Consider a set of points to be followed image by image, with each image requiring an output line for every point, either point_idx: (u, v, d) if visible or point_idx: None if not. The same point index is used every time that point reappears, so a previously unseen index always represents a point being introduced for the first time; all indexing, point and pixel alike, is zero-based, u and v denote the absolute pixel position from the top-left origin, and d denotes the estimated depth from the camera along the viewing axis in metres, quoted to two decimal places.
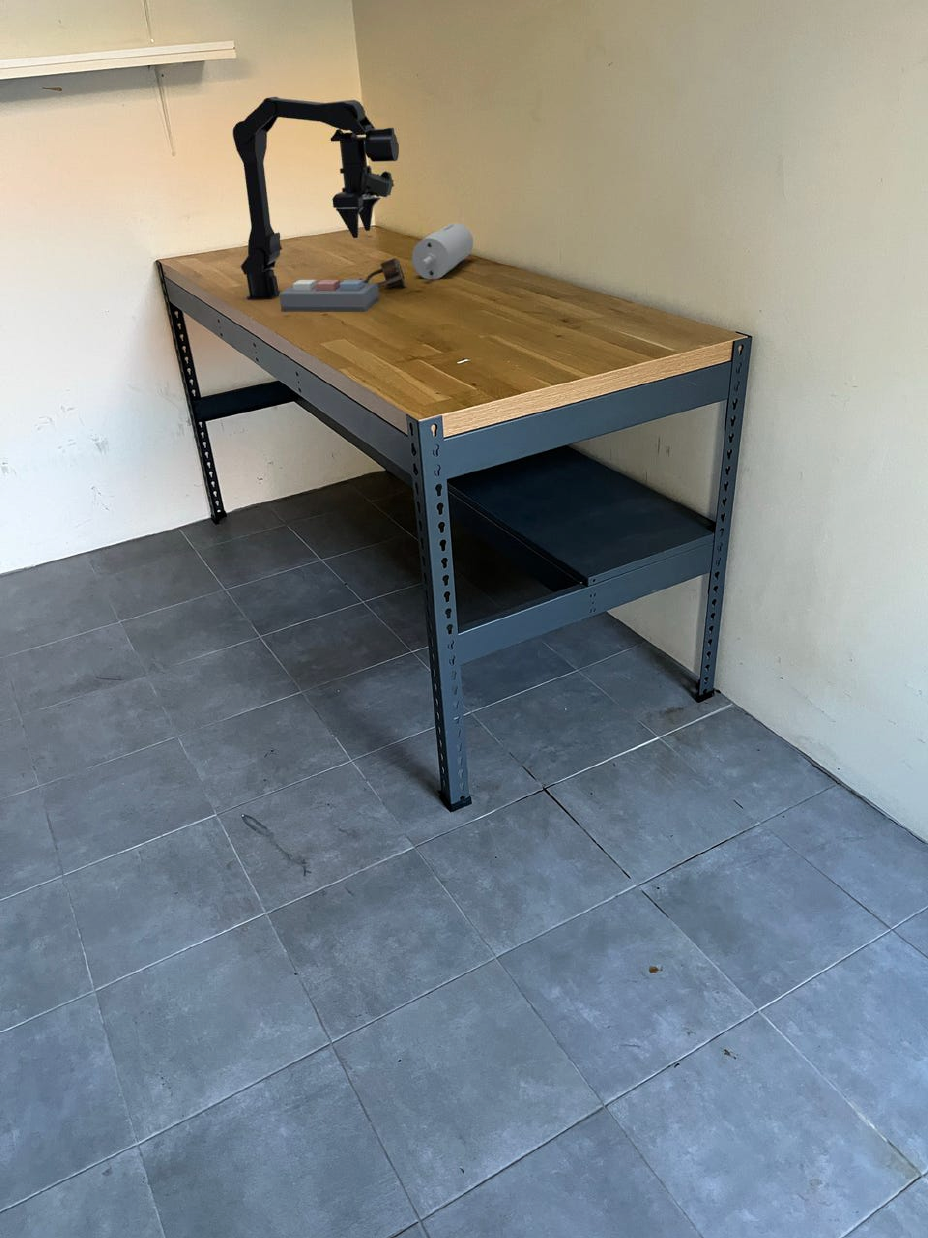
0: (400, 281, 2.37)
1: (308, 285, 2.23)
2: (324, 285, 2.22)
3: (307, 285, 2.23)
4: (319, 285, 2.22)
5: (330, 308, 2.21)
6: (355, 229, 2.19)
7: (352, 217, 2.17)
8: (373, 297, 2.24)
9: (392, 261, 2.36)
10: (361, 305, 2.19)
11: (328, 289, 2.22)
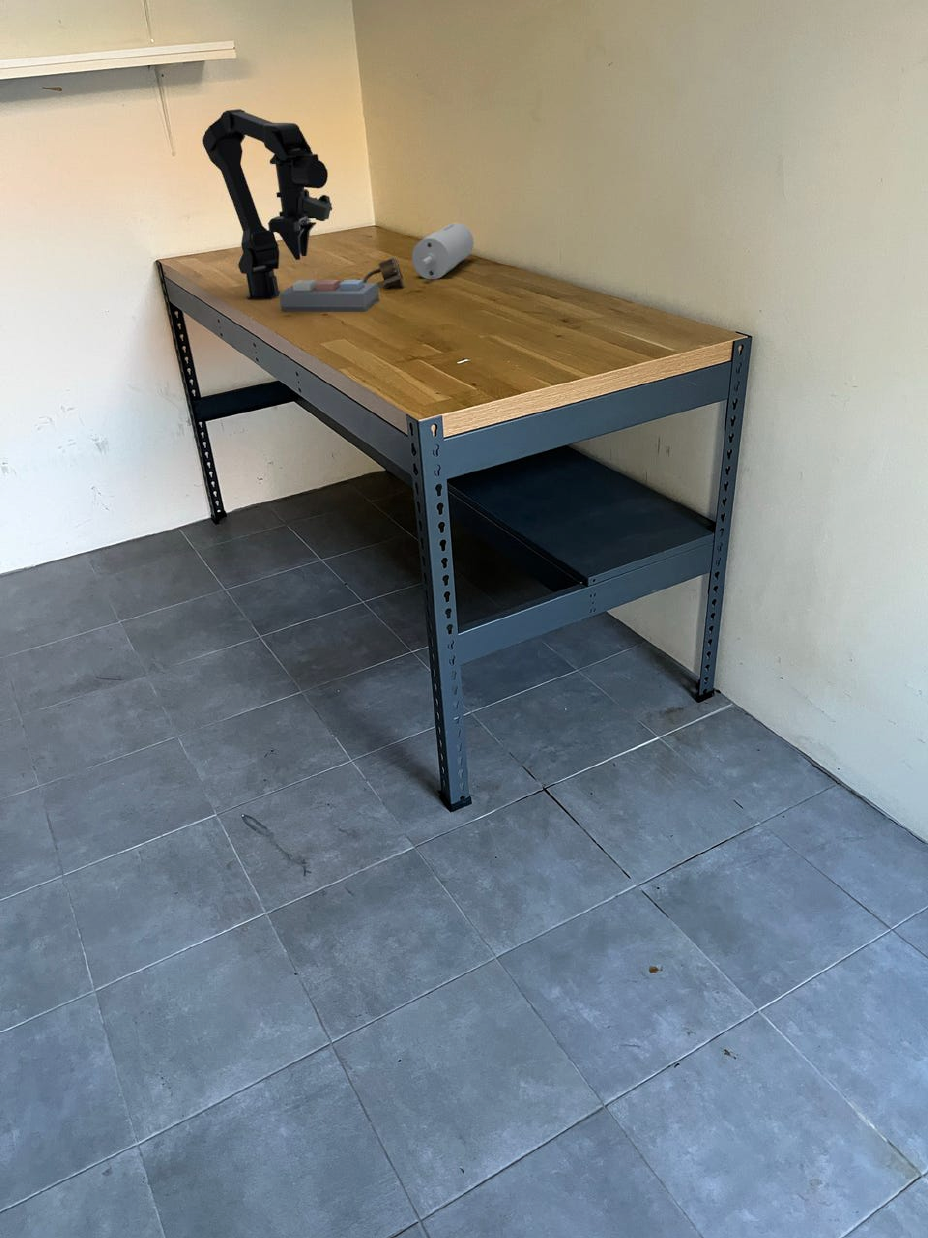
0: (398, 281, 2.37)
1: (308, 285, 2.23)
2: (324, 285, 2.22)
3: (307, 285, 2.23)
4: (319, 285, 2.22)
5: (330, 308, 2.21)
6: (297, 251, 2.18)
7: (293, 239, 2.17)
8: (373, 297, 2.24)
9: (390, 261, 2.36)
10: (361, 305, 2.19)
11: (328, 289, 2.22)
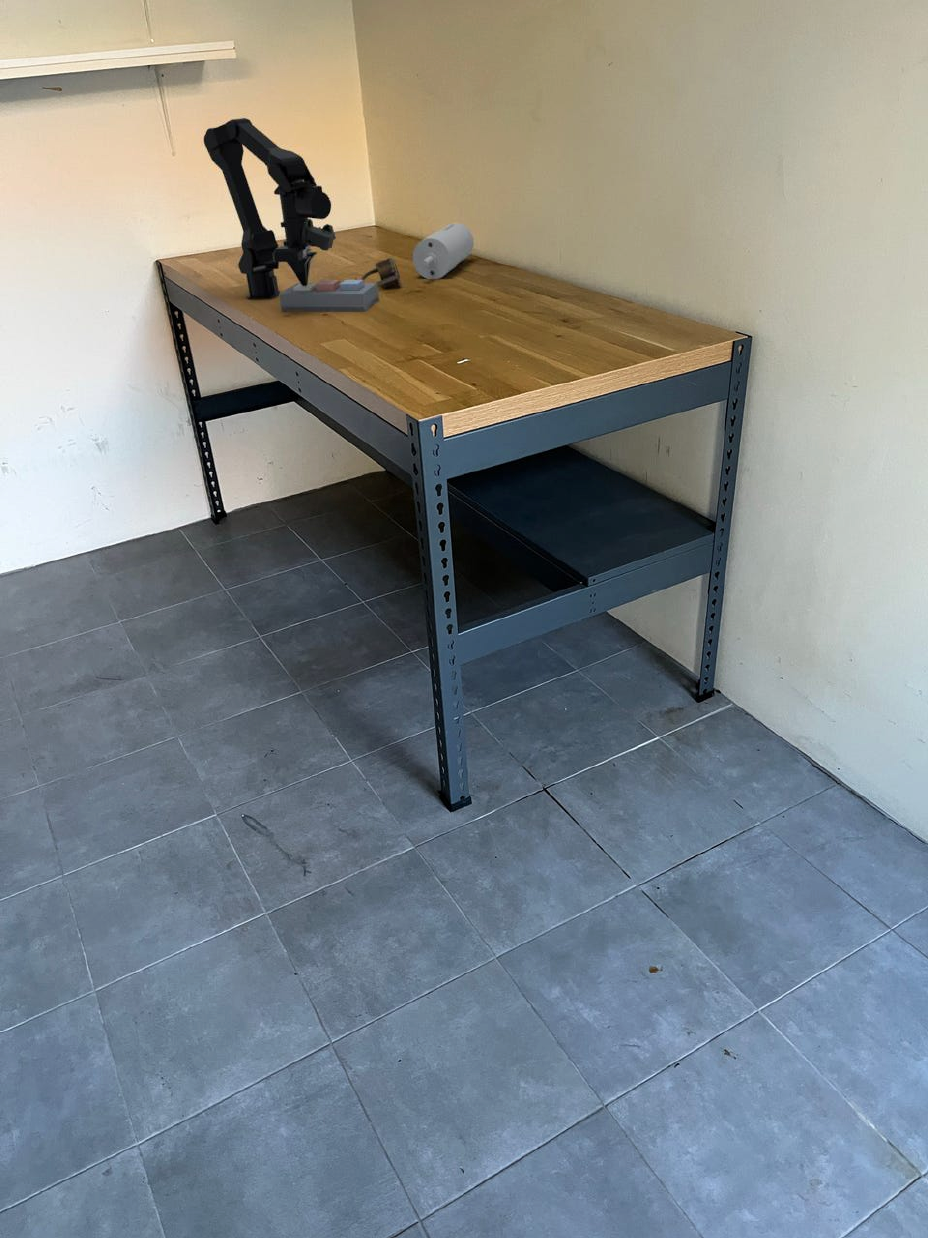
0: (396, 281, 2.38)
1: (309, 289, 2.23)
2: (324, 285, 2.22)
3: (308, 289, 2.23)
4: (319, 285, 2.22)
5: (330, 308, 2.21)
6: (303, 278, 2.23)
7: (300, 266, 2.22)
8: (373, 297, 2.24)
9: (387, 261, 2.36)
10: (361, 305, 2.19)
11: (328, 289, 2.22)
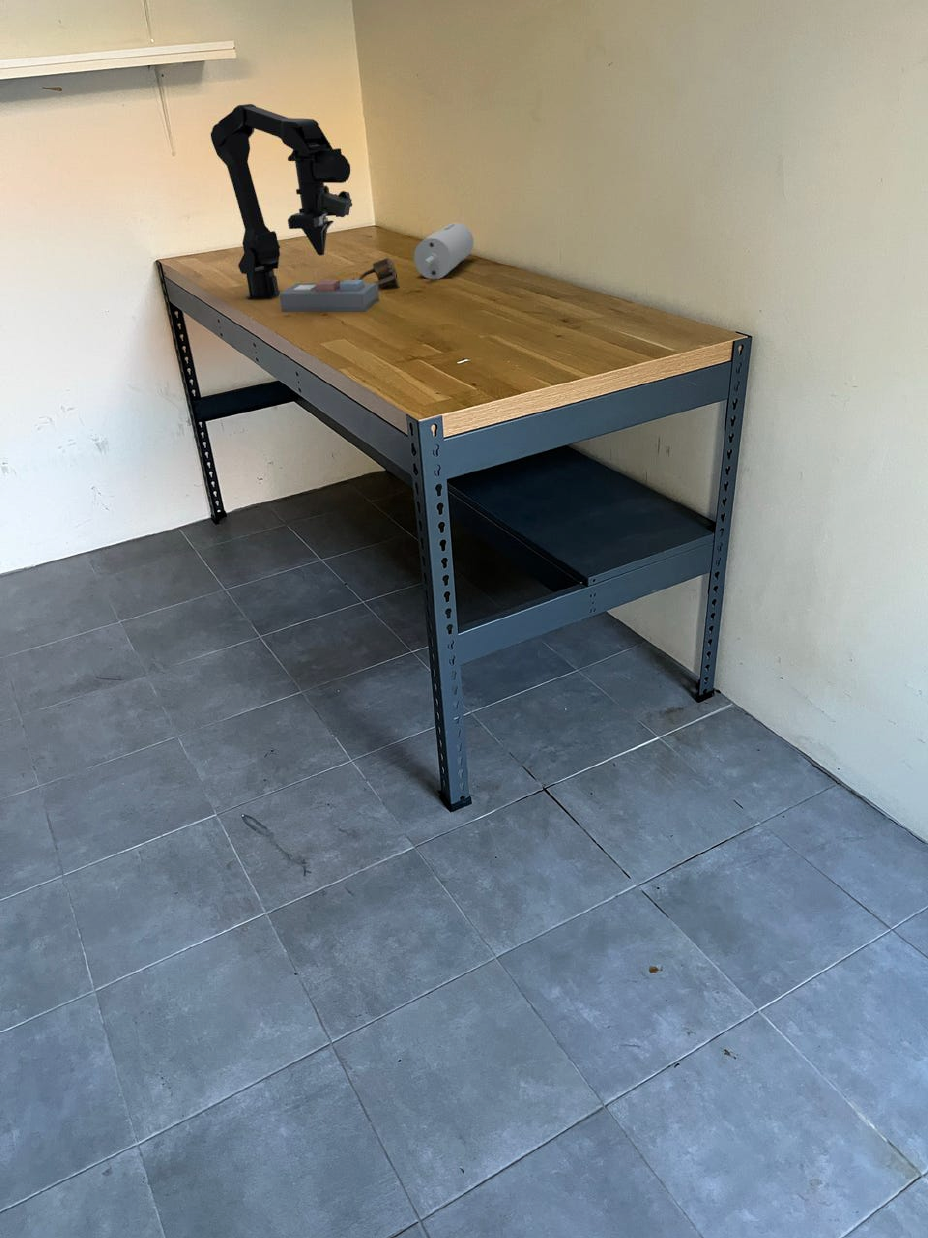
0: (393, 281, 2.38)
1: (309, 290, 2.23)
2: (324, 285, 2.22)
3: (308, 290, 2.23)
4: (319, 285, 2.22)
5: (330, 308, 2.21)
6: (320, 246, 2.18)
7: (316, 235, 2.16)
8: (373, 297, 2.24)
9: (385, 261, 2.36)
10: (361, 305, 2.19)
11: (328, 289, 2.22)
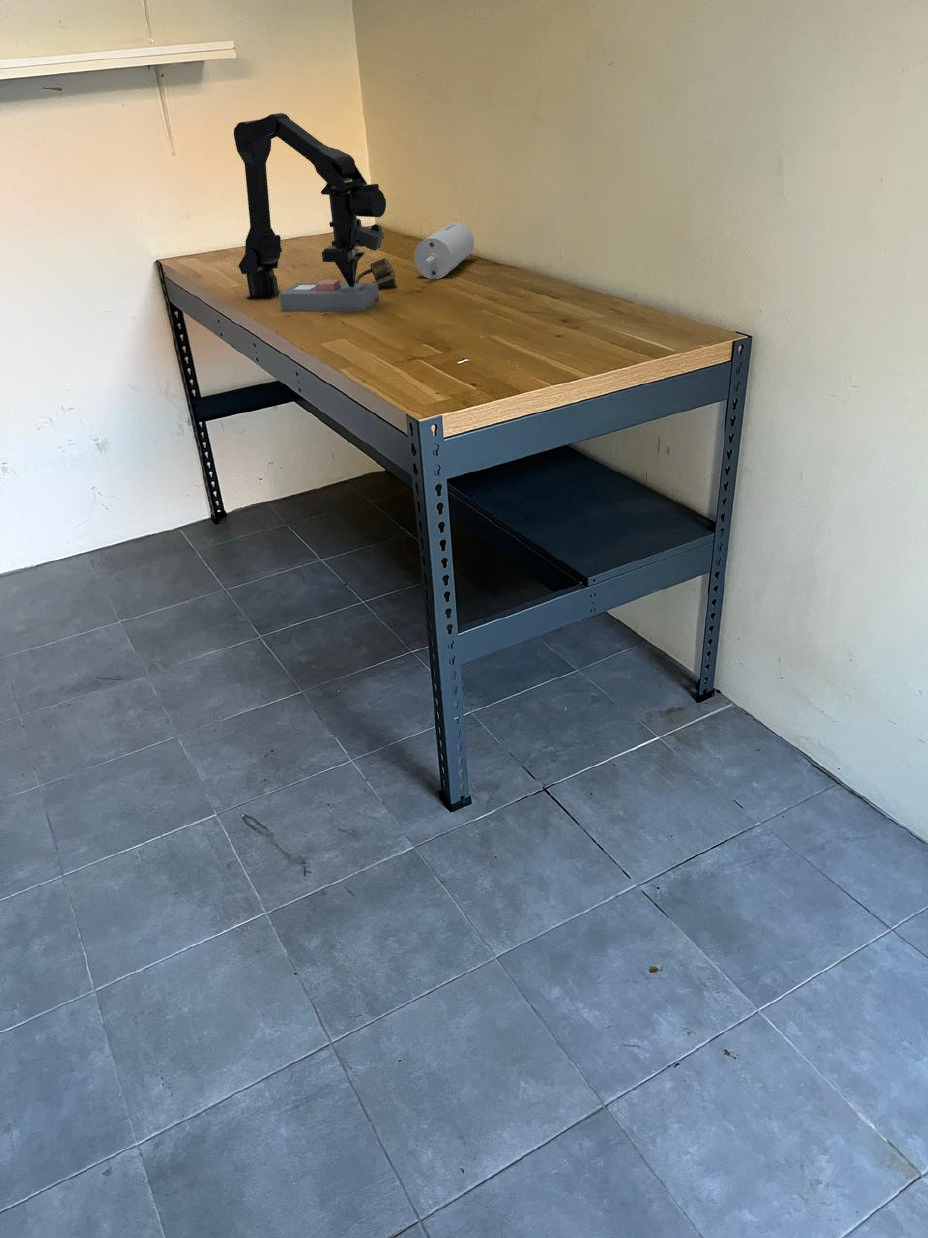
0: (391, 281, 2.38)
1: (309, 290, 2.23)
2: (324, 285, 2.22)
3: (308, 290, 2.23)
4: (319, 285, 2.22)
5: (330, 308, 2.21)
6: (351, 278, 2.21)
7: (348, 266, 2.19)
8: (373, 297, 2.24)
9: (382, 261, 2.36)
10: (361, 305, 2.19)
11: (328, 289, 2.22)
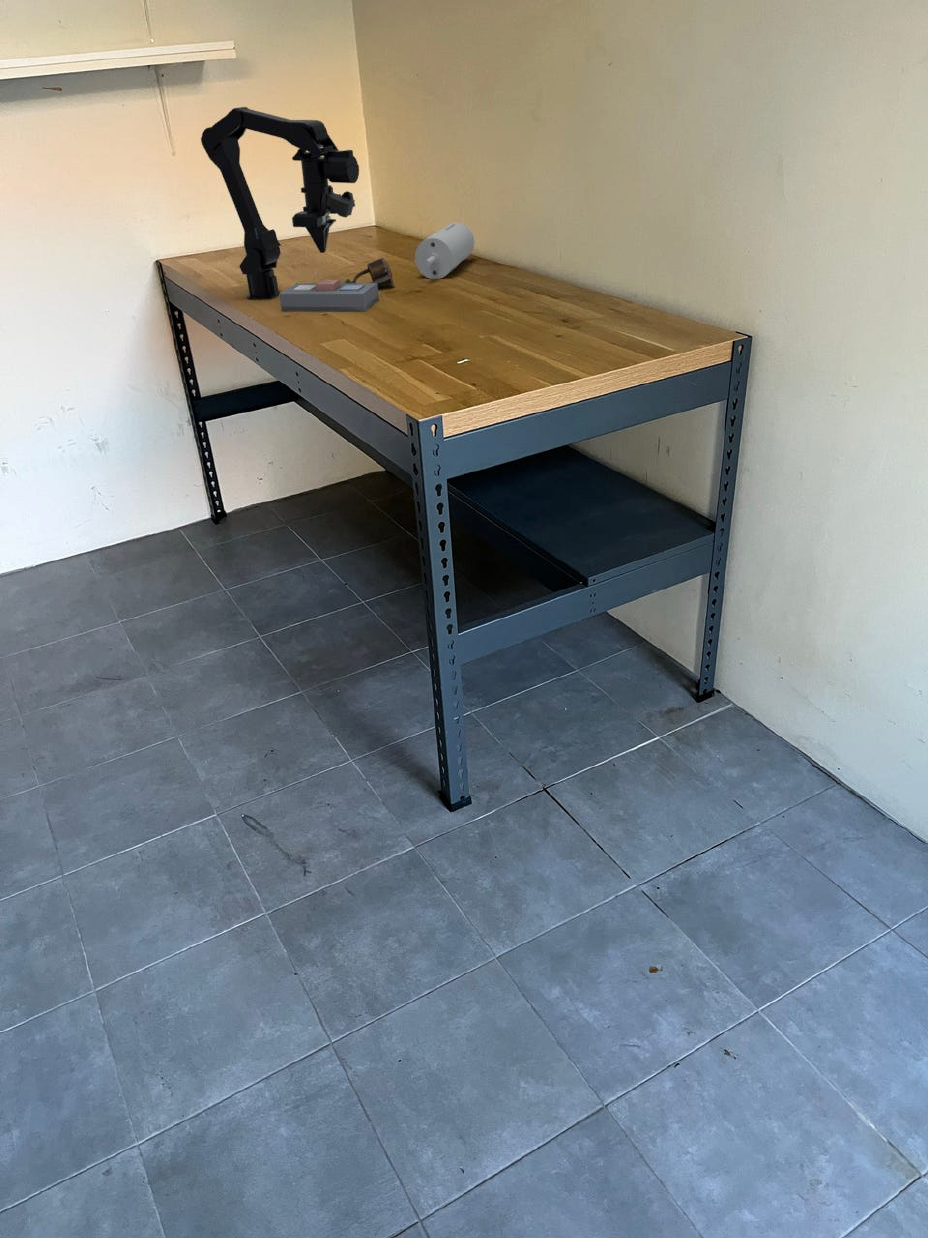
0: (388, 281, 2.38)
1: (309, 290, 2.23)
2: (324, 285, 2.22)
3: (308, 290, 2.23)
4: (319, 285, 2.22)
5: (330, 308, 2.21)
6: (322, 244, 2.24)
7: (319, 233, 2.22)
8: (373, 297, 2.24)
9: (380, 261, 2.36)
10: (361, 305, 2.19)
11: (328, 289, 2.22)
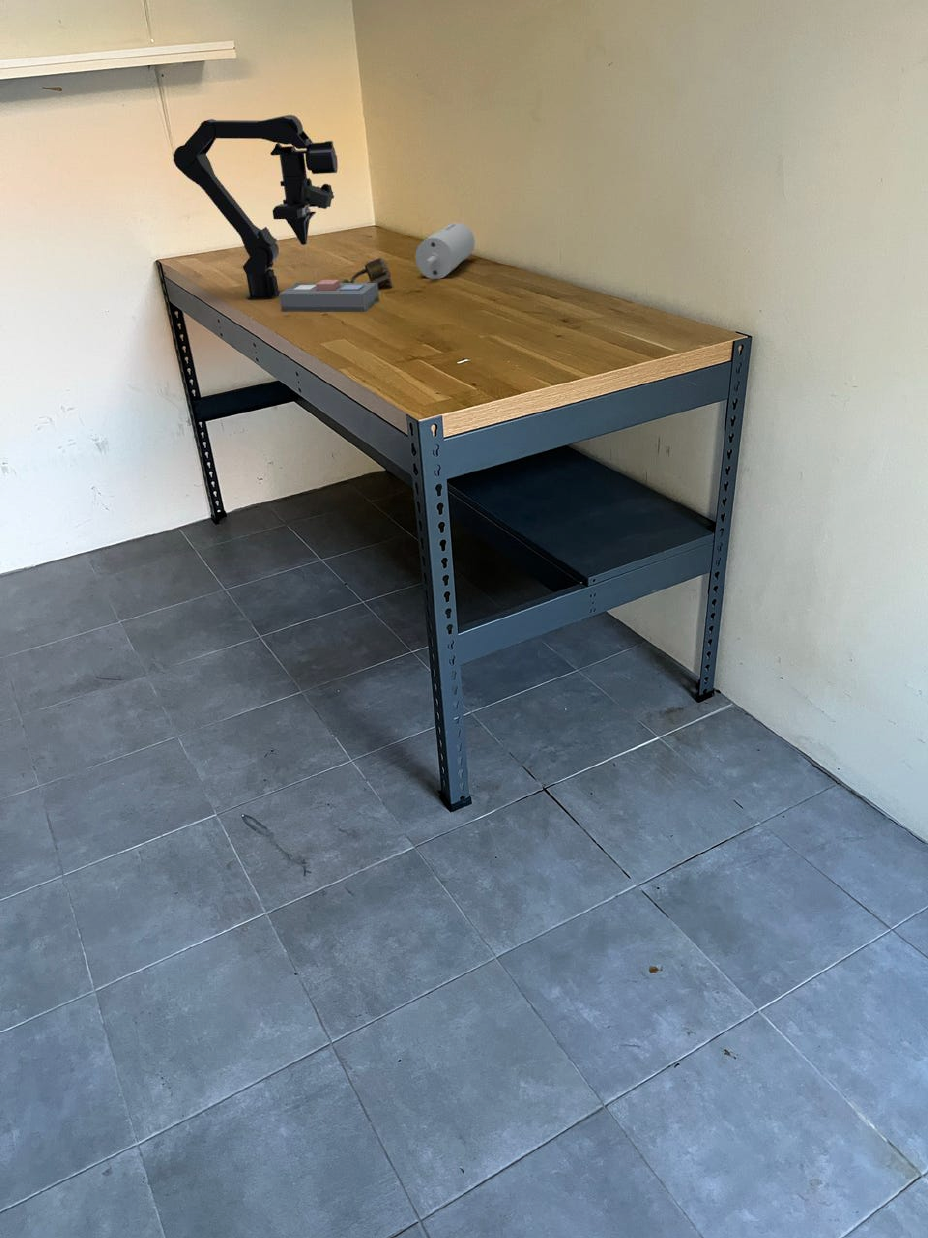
0: (386, 281, 2.38)
1: (309, 290, 2.23)
2: (324, 285, 2.22)
3: (308, 290, 2.23)
4: (319, 285, 2.22)
5: (330, 308, 2.21)
6: (303, 236, 2.29)
7: (299, 225, 2.27)
8: (373, 297, 2.24)
9: (378, 261, 2.36)
10: (361, 305, 2.19)
11: (328, 289, 2.22)
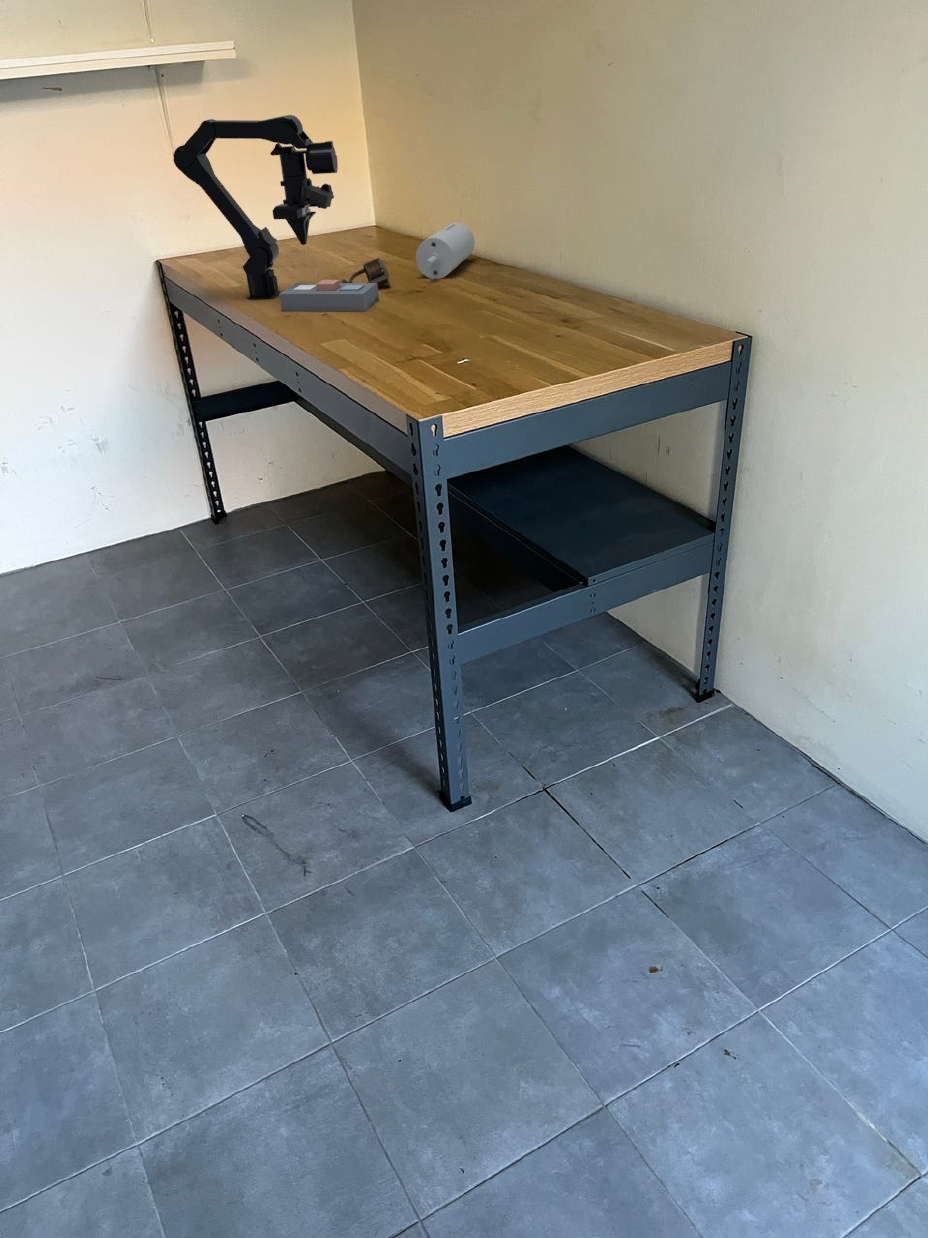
0: (385, 281, 2.38)
1: (309, 290, 2.23)
2: (324, 285, 2.22)
3: (308, 290, 2.23)
4: (319, 285, 2.22)
5: (330, 308, 2.21)
6: (303, 236, 2.29)
7: (299, 225, 2.27)
8: (373, 297, 2.24)
9: (376, 261, 2.36)
10: (361, 305, 2.19)
11: (328, 289, 2.22)
